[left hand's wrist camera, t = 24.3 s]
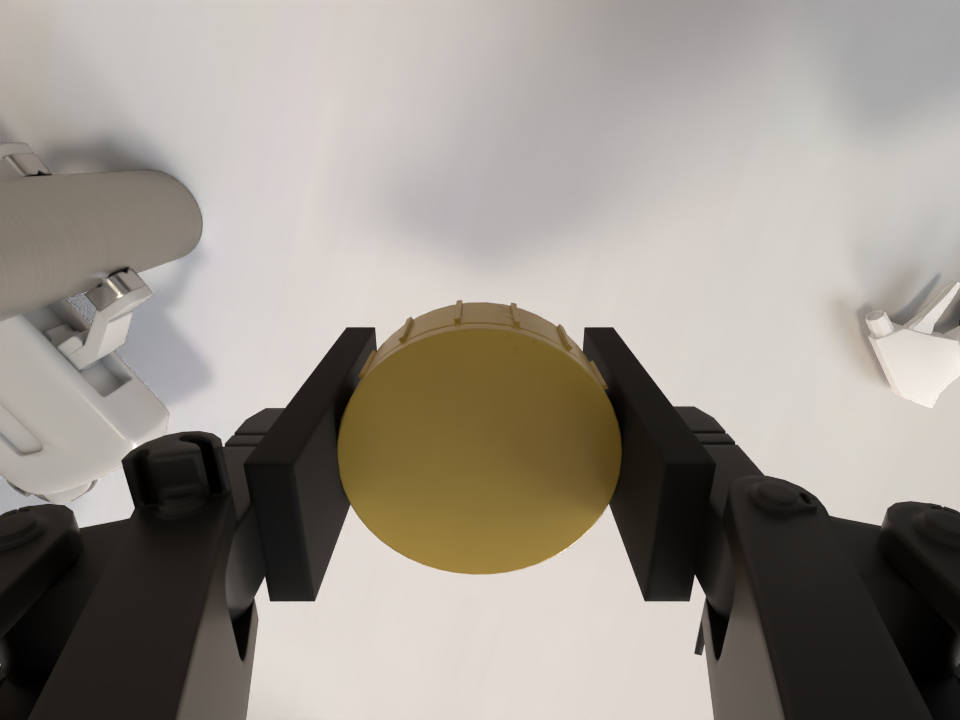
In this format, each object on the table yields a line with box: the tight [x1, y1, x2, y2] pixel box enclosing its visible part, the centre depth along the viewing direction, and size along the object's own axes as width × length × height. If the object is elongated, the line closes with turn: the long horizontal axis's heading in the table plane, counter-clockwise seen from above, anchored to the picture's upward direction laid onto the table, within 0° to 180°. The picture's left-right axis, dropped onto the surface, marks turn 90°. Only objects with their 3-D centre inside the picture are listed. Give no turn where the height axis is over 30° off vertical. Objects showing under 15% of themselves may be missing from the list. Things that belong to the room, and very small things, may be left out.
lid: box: [337, 300, 622, 574], centre depth 11 cm, size 6×6×2 cm
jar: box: [0, 170, 202, 322], centre depth 23 cm, size 5×5×16 cm
